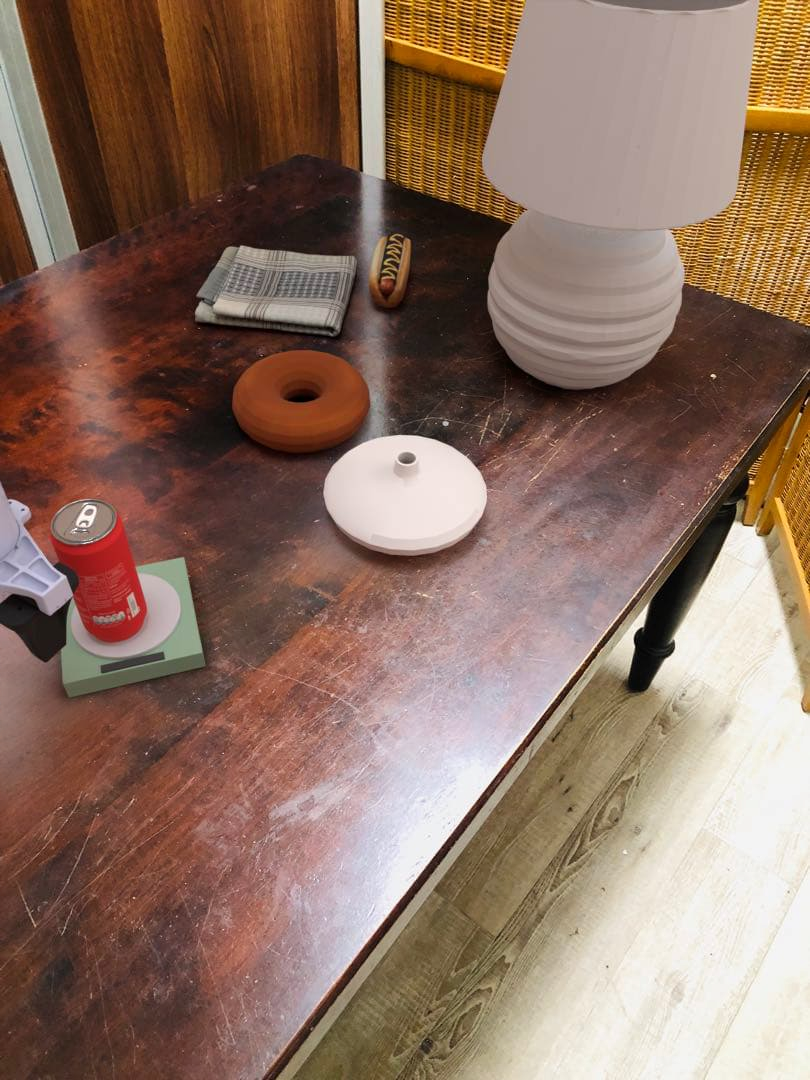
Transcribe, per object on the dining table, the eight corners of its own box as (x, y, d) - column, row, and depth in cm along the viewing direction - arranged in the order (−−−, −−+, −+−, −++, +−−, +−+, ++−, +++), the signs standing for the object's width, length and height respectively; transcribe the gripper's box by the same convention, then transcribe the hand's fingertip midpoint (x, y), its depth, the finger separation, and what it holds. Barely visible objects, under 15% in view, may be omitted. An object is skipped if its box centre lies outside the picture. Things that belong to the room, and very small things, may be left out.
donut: (271, 481, 89) (267, 443, 86) (212, 402, 98) (206, 364, 94) (396, 434, 95) (397, 397, 91) (330, 363, 103) (328, 326, 100)
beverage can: (76, 644, 72) (36, 543, 63) (96, 595, 75) (61, 493, 66) (139, 649, 72) (108, 549, 63) (156, 599, 75) (128, 499, 66)
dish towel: (360, 266, 119) (360, 244, 116) (339, 341, 106) (339, 318, 104) (225, 254, 119) (222, 232, 117) (189, 328, 107) (185, 305, 105)
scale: (68, 698, 71) (61, 681, 69) (62, 596, 78) (55, 579, 76) (205, 666, 73) (201, 649, 72) (187, 571, 81) (183, 553, 79)
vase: (305, 477, 90) (301, 423, 85) (447, 445, 94) (452, 392, 89) (353, 589, 80) (352, 536, 75) (511, 548, 84) (520, 494, 79)
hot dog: (363, 314, 111) (363, 278, 107) (375, 261, 120) (376, 226, 116) (403, 317, 110) (404, 282, 107) (412, 264, 119) (413, 229, 116)
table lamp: (711, 353, 107) (839, -26, 78) (614, 461, 93) (727, 47, 64) (533, 283, 117) (587, -76, 88) (421, 370, 103) (442, -23, 74)
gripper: (85, 496, 53) (130, 633, 63) (-77, 412, 58) (-12, 552, 68) (-8, 570, 49) (55, 705, 58) (-175, 473, 53) (-91, 613, 63)
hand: (14, 627), depth 63 cm, fingers open, 7 cm apart
